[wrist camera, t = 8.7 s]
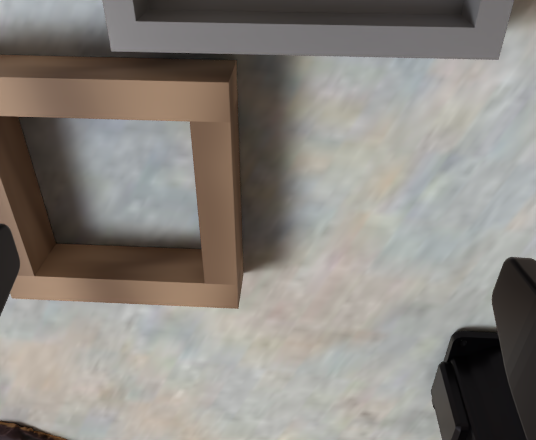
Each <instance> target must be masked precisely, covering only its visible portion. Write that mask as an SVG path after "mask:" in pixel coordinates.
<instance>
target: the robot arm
mask: <svg viewBox="0 0 536 440" xmlns="http://www.w3.org/2000/svg"><path fill="white" fill-rule="evenodd" d="M19 269H20V258H19V254H18V251H17V248H16V245H15V242H14V238H13V235H12V232H11V230H10V228H9V227H8V226H7V225H5V224H2V223H0V315H1V313H2V311H3V308H4V306H5V304H6V301H7V299H8V297H9V294H10V292H11V289H12V287H13V285H14V282H15V280H16V278H17V275H18V273H19ZM492 306H493V311H494V316H495V321H496V326H497V331H498V333H489V332H468V331H459V332H456V333H454V334H453V335H452V336H451V339H450V342H449V345H448V349H447V352H446V355H445V358H444V362H441V363H440V364H439V366H438V369H437V373H436V376H435V379H434V383H433V386H432V389H431V394H432V404H433V407H434V409H435V411H436V415H437V420H438V424H439V428H440V432H441V436H442V440H536V261H535V260H534V259H531V258H519V257H510V258H508V259H506V260H505V262H504V263H503V266H502V269H501V271H500V274H499V277H498V279H497V282H496V285H495V287H494V290H493V294H492ZM460 340H462V341H460Z"/></svg>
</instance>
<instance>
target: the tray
mask: <svg viewBox="0 0 536 440" xmlns="http://www.w3.org/2000/svg"><path fill="white" fill-rule="evenodd" d="M102 1H103V7H104V12H105V18H106V24H107V30H108V36H109V41H110V47H111V51H118V52H164V53H211V54H257V55H304V56H350V57H397V58H443V59H489V60H499V56H500V52H501V48H502V44H503V41H504V37H505V33H506V29H507V25H508V22H509V18H510V14H511V10H512V6H513V3H514V0H102Z"/></svg>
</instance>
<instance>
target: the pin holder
mask: <svg viewBox="0 0 536 440" xmlns="http://www.w3.org/2000/svg"><path fill="white" fill-rule="evenodd" d="M18 117H53V118H88V119H124V120H160V121H190V129H191V140H192V150H193V161H194V172H195V183H196V194H197V205H198V216H199V227H200V238H201V249H181V248H156V247H131V246H106V245H81V244H56V242H55V239H54V235H53V232H52V229H51V225H50V222H49V219H48V215H47V212H46V209H45V205H44V202H43V198H42V195H41V192H40V188H39V185H38V182H37V178H36V175H35V172H34V168H33V165H32V162H31V158H30V155H29V152H28V148H27V145H26V142H25V138H24V135H23V132H22V128H21V125H20V122H19V118H18ZM0 223H2V224H5V225H7V226H8V227H9V228H10V230H11V232H12V235H13V238H14V242H15V245H16V248H17V251H18V254H19V258H20V269H19V273H18V275H17V278H16V280H15V282H14V285H13V287H12V289H11V292H10V294H11V296H12V298H16V299H38V300H60V301H83V302H105V303H127V304H149V305H171V306H193V307H215V308H237V309H238V307H239V300H240V294H241V287H242V280H243V244H242V213H241V182H240V151H239V120H238V90H237V60H209V59H164V58H118V57H73V56H28V55H0Z"/></svg>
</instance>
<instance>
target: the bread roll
mask: <svg viewBox="0 0 536 440" xmlns="http://www.w3.org/2000/svg"><path fill="white" fill-rule="evenodd" d="M0 440H67V439H64V438H61V437H56V436H53V435H50V434H46V433H43V432H39V431H34V430H33V429H32V428H27V427H20V426H18V425H17V424H15V423H5V422H1V421H0Z"/></svg>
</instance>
